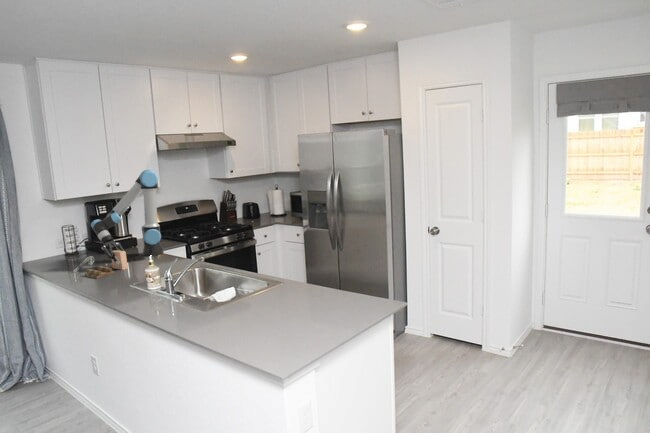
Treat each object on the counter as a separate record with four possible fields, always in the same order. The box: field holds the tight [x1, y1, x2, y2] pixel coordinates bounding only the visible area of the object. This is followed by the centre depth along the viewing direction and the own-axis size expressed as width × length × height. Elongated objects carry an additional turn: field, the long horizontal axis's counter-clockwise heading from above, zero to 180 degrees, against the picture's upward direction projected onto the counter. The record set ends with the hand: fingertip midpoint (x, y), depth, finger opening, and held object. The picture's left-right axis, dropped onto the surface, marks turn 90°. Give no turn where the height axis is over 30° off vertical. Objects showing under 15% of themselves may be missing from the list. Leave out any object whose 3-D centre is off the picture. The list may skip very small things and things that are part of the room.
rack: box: [84, 265, 116, 279], centre depth 303 cm, size 15×12×4 cm
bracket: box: [72, 255, 96, 274], centre depth 324 cm, size 3×21×10 cm, turn 175°
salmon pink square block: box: [110, 249, 129, 271], centre depth 316 cm, size 12×4×12 cm, turn 55°
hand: (122, 263), depth 314 cm, fingers closed on salmon pink square block, 4 cm apart
